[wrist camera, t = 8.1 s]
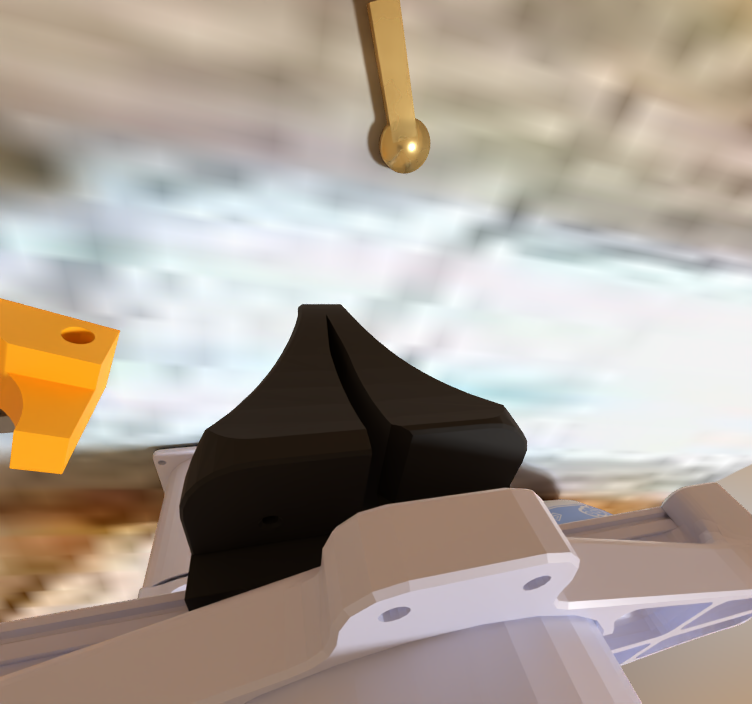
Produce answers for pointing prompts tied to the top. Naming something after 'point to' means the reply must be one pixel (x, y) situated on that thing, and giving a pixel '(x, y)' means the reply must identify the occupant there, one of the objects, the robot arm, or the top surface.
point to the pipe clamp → (50, 381)
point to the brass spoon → (396, 91)
